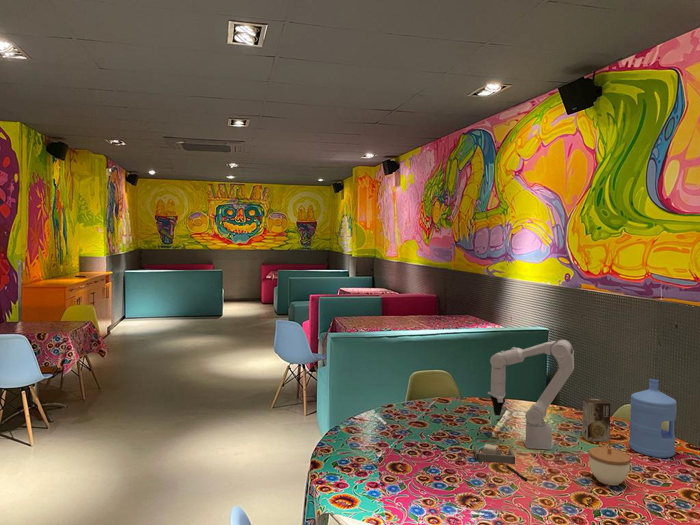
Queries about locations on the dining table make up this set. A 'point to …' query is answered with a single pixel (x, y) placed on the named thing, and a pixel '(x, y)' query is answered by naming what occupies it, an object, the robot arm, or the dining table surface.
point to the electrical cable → (517, 473)
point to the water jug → (652, 422)
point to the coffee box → (596, 420)
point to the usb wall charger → (492, 449)
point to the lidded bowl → (609, 465)
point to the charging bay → (495, 457)
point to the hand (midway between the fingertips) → (497, 414)
